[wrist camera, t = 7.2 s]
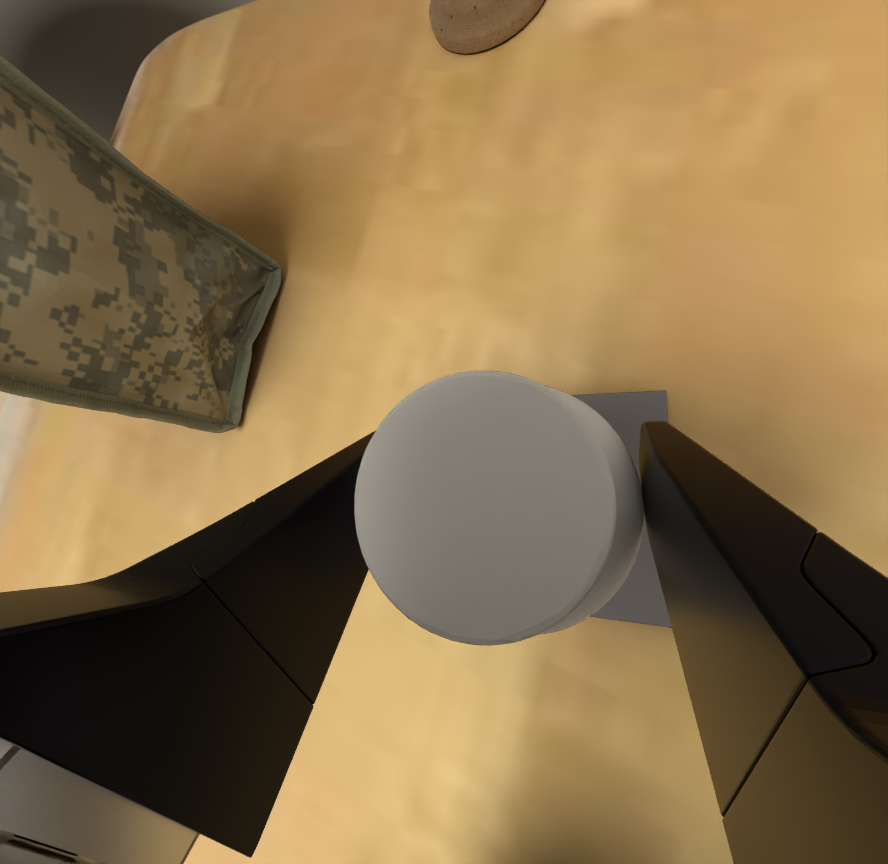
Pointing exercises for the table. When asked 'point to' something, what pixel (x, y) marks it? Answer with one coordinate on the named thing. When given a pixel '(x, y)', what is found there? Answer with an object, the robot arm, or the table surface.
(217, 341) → the bag
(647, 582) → the mat
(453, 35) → the candle holder
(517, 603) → the supplement bottle
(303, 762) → the table surface
